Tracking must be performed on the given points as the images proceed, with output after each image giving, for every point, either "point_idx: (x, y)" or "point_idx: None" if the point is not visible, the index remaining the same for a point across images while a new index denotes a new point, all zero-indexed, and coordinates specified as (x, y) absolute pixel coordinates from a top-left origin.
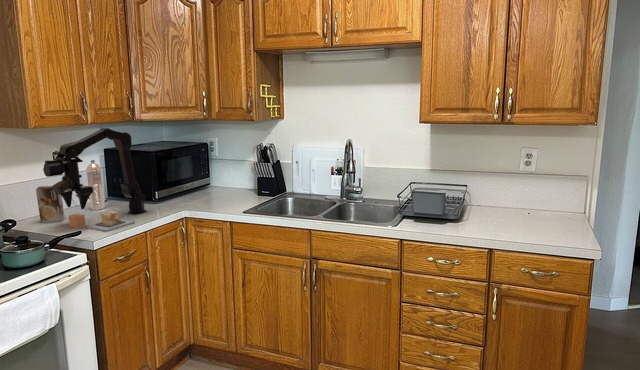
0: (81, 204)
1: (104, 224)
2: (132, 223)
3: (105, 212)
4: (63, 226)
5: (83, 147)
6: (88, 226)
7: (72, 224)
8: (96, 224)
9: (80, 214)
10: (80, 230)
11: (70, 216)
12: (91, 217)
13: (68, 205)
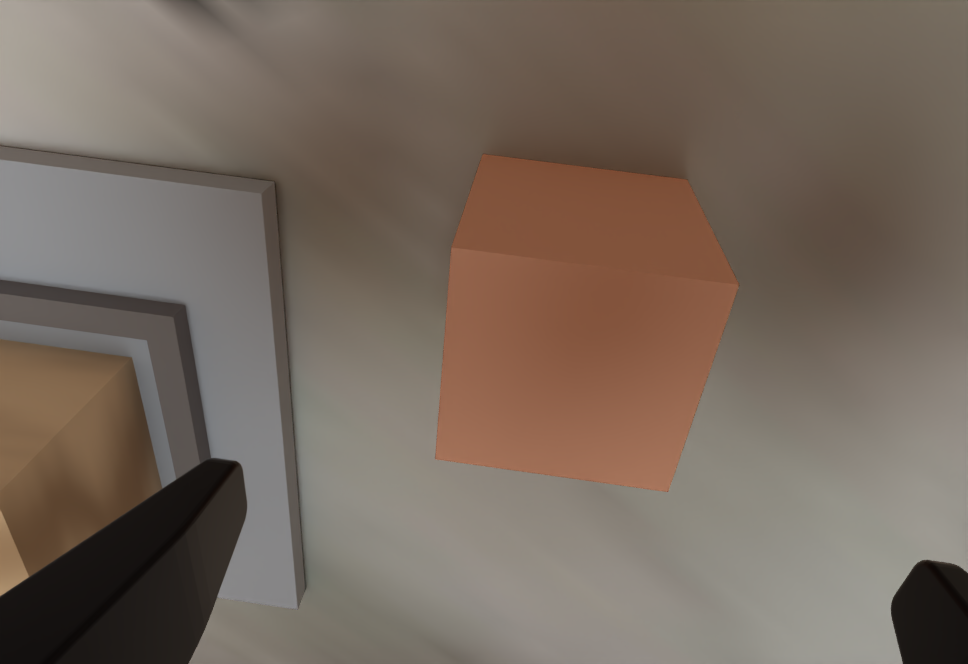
0: (36, 576)
1: (67, 354)
2: None
3: (24, 571)
4: (843, 154)
5: None
6: (224, 211)
7: (596, 186)
8: (155, 310)
9: (535, 451)
10: (239, 29)
11: (655, 271)
12: (725, 625)
13: (951, 622)
